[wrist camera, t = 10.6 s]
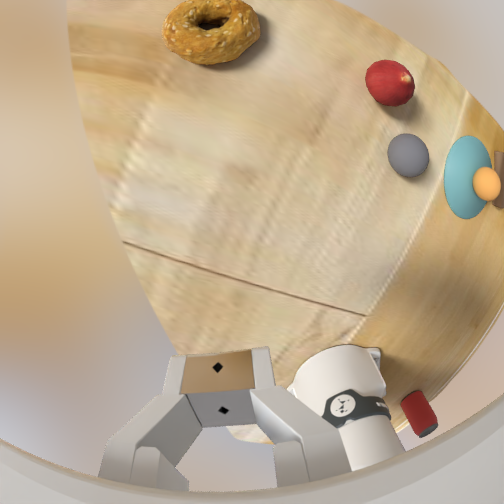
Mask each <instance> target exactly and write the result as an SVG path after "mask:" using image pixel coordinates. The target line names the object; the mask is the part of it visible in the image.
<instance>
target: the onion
mask: <svg viewBox="0 0 504 504" xmlns="http://www.w3.org/2000/svg"><path fill="white" fill-rule="evenodd" d="M365 80H366V86H367V88H368V90H369V92H370V94H371V95H372V96H373V97H374V98H375V100H376V101H378V102H380V103H382V104H383V105H387V106H399V105H403V104H405V103H407V102H408V101H409V99H410V98H411V97H412V96H413V93H414V89H415V84H414V79H413V77H412V75H411V74H410V72H409V71H408V70H407V69H406V68H405V67H404V66H403V65H401V64H400V63H398V62H396V61H391V60H381V61H378V62H374V63H373V64H372V65H371V66H370V67H369V68H368V69H367V73H366V77H365Z"/></svg>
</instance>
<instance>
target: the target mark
mask: <svg viewBox="0 0 504 504" xmlns="http://www.w3.org/2000/svg"><path fill="white" fill-rule="evenodd" d="M481 167H489V168H491V169H492V165H491V160H490V157H489V154H488V152H487V150H486V148H485V146H484V145H483V144H482V142H481V141H480V140H478V139H477V138H475V137H473V136H464V137H461V138H460V139H458V140H457V141H456V142H455V143H454V144H453V146H452V148H451V149H450V152H449V154H448V157H447V160H446V164H445V170H444V188H445V194H446V198H447V201H448V204H449V206H450V208H451V210H452V211H453V212H454V213H455V214H456V215H457V216H458V217H460V218H463V219H470V218H473V217H475V216H476V215H477V214H479V213H480V212H481V210H482V209H483V208H484V206H485V204H486V203H487V201H485V200H483V199H481V198H480V197H479V196H478V195H477V194H476V193H475V191H474V188H473V176H474V174H475V172H476V171H477V170H478V169H479V168H481Z"/></svg>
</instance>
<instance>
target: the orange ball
mask: <svg viewBox="0 0 504 504" xmlns="http://www.w3.org/2000/svg"><path fill="white" fill-rule="evenodd" d="M473 188H474V191H475V193H476V194H477V195H478V196H479V197H480V198H481V199H483V200H485V201H491V200H494V199H495V198H496V197H497V196H498V195H499V193H500V190H501V182H500V178H499V176H498V175H497V173H496V172H495V171H494V170H493V169H491V168H489V167H481V168H479V169H478V170H477V171H476V172H475V174H474V176H473Z"/></svg>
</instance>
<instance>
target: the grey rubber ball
mask: <svg viewBox="0 0 504 504" xmlns="http://www.w3.org/2000/svg"><path fill="white" fill-rule="evenodd" d="M388 159H389V162H390V164H391V166H392V168H393V169H394V170H395V171H396V172H397V173H399V174H400V175H402V176H405V177H416V176H418V175H420V174H422V173H423V172H424V171H425V169H426V168H427V166H428V162H429V153H428V149H427V147H426V145H425V144H424V142H423V141H422V140H421V139H420V138H418V137H417V136H415V135H412V134H400V135H398V136H396V137H395V138H394V139H393V140H392V141H391V142H390V144H389V147H388Z"/></svg>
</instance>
